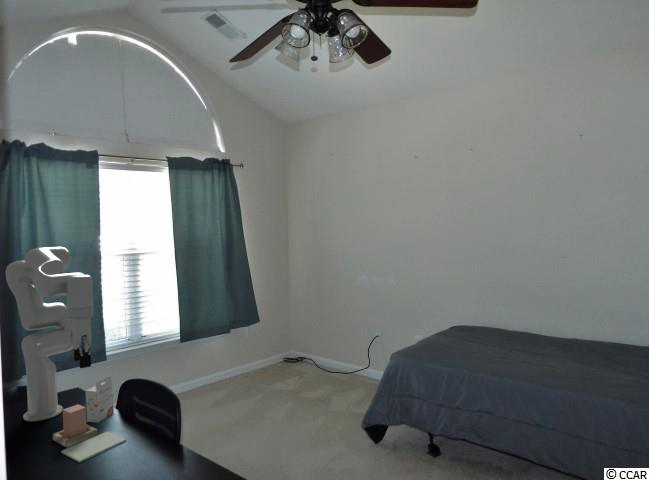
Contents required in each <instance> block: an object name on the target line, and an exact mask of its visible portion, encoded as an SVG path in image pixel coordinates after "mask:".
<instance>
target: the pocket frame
mask: <svg viewBox="0 0 649 480" xmlns="http://www.w3.org/2000/svg"><path fill="white" fill-rule="evenodd" d="M86 428H87V432H86V433H83V434H81V435H78V436H76V437H73V438H71V439H68V438H66V437H64V429H62V430H60V431H57V432H55V433H53V434H52V441H54V442H56V443H58V444H59V445H61V446H63V447H64V448H66V449H67V448H69V447H72V446H74V445H77V444H79V443H81V442H84V441H86V440H88V439H91V438H93V437H95V436H98V435H99V433H98V429H97V428H95V427H93V426H91V425H88V424H87V423H86Z"/></svg>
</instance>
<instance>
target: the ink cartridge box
mask: <svg viewBox="0 0 649 480" xmlns="http://www.w3.org/2000/svg"><path fill="white" fill-rule="evenodd" d="M112 382H113V381H112V376H111V375H108V376H106V377H104V378H101V379H100V380H99V381H97V382H95V385H94V386H92V387H91V388H88V389H86V390H85V407H86V423H100V422H101V421H104V420H105V419H106V418H108V417H109V416H111V415H112V414H114V410H115V409H114V393H113V390H114V389H113V383H112Z"/></svg>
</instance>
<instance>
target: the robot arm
mask: <svg viewBox="0 0 649 480" xmlns="http://www.w3.org/2000/svg"><path fill="white" fill-rule="evenodd" d="M71 263H72V256H71V253H70V251H69V250H68V249H67V248H66V247H63V246H47V247H42V246H41V247H35V248H32V249H30V250H28V251H27V252H26V253H25V255H24V259H23V260H17V261H12V262H11V263H9V264H8V265H7V266H6V268H5V279H6V283H7V285H8V288H9V289H10V291H11V292H12V294H13V296H14V298H15V300H16V305H17V309H18V313H19V314H18V315H19V318H20V322H21V326H22V328H23V329H24V330H25V331H37V330H43V329H44V330H45V329H47V330H45V331H39V332H35V333H31V334H29V335H27V336H25V337H23V339H22V341H21V350H22V354H23V358H24V362H25V363H24V364H25V377H26V392H27V393H26V395H27V411H26V412H25V413H24V414H23V416H22V417H23V420H24V421H26V422H39V421H44V420H48V419H52V418H54V417H56V416H58V415H60V414H61V413H63V409H64V408H63V406H62V405H60V404H58V385H57V382H58V381H57V366H56V364H55V362H53V361H52V360H50V359H49V357H50V356H53V355H58V354H62V353H63V354H64V353H67V352H69V351H72V350H73V361H75V362H78V361H79V368H80V369H85V368H90V367H91V366H92V356H91V348H90V347H92V325H91V324H92V323H91V318H92V317H94V292H93V289H94V288H93V286H94V285H93V277H92V276H91V275H89V274H84V273H83V272H69V273H64V272H65V271H66V270H67V269H68V268H69V267H70V265H71ZM30 282H32V283H30ZM58 297H59V298H60V297H66V304H65V303H63V302H60V301H58V302H50V303H49V302H48V303H45V301H44V298H48V299H50V298H51V299H52V298H58ZM48 328H54V329H49V330H48Z"/></svg>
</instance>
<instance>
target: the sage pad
mask: <svg viewBox="0 0 649 480" xmlns="http://www.w3.org/2000/svg"><path fill="white" fill-rule="evenodd" d="M125 442H127V439H126V438H124V437H122V436H120V435H117V434H115V433H112V432H110V431H107V430H106V431H105V432H103V433H100V434H98V435H96V436H94V437H92V438H89V439H87V440H85V441H82V442H80V443H78V444H75V445H73V446H71V447H68V448H67V447H66V448H65V449H63V450H61V454H62V455H65V456H66V457H68V458H70V459H72V460H74V461H76V462H77V463H82V462H84V461H86V460H88V459H90V458H92V457H95V456H97V455H99V454H101V453H104V452H106V451H108V450H110V449H113V448H114V447H116V446H119V445H120V444H123V443H125Z"/></svg>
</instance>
